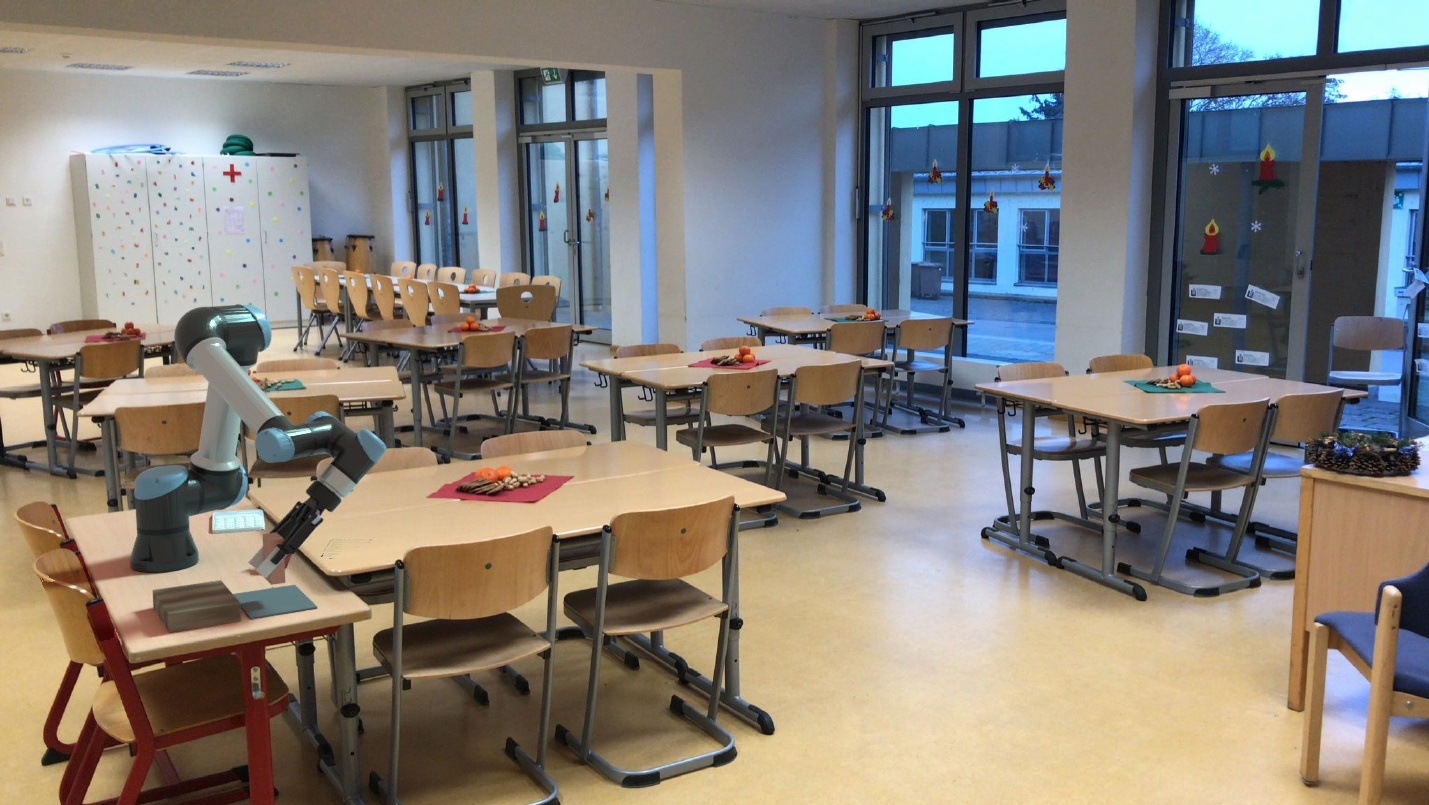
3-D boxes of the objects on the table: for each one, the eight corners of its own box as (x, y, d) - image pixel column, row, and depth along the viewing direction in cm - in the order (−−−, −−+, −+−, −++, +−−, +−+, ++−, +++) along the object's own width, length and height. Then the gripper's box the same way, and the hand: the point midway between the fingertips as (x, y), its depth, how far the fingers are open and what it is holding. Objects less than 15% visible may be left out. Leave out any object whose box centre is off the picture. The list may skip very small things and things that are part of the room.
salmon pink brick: (264, 577, 260) (262, 534, 259) (278, 575, 262) (276, 532, 261) (271, 584, 255) (269, 540, 254) (285, 582, 257) (283, 538, 256)
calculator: (211, 535, 313) (211, 528, 312) (212, 517, 331) (212, 511, 330) (265, 531, 318) (265, 525, 317) (262, 514, 336) (262, 507, 336)
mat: (231, 595, 263) (231, 594, 263) (294, 586, 271) (294, 584, 271) (250, 619, 249) (250, 617, 249) (317, 608, 256) (317, 606, 256)
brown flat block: (153, 607, 254) (152, 590, 254) (221, 597, 262) (221, 580, 261) (169, 632, 240) (168, 614, 239) (240, 621, 247) (240, 602, 247)
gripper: (355, 508, 257) (281, 591, 250) (329, 490, 273) (259, 569, 266) (330, 487, 253) (254, 571, 247) (305, 471, 269) (233, 549, 262)
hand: (257, 570), depth 256 cm, fingers closed on salmon pink brick, 6 cm apart
